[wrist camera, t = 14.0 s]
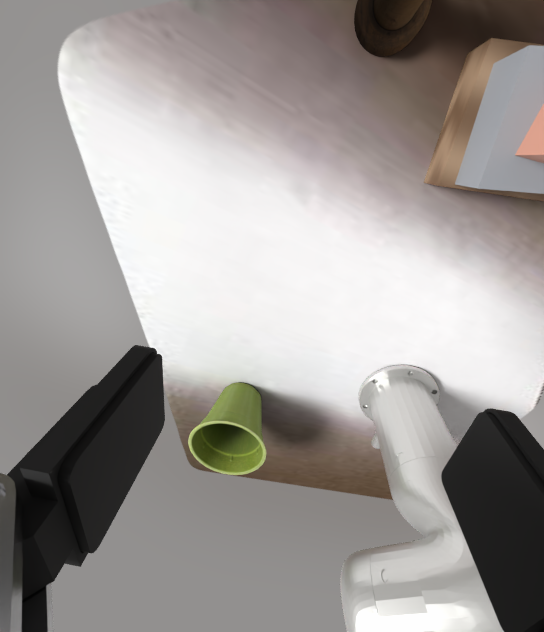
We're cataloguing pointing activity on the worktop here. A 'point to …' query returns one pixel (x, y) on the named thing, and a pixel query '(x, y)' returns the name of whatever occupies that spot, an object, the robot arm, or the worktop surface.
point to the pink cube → (534, 140)
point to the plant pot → (231, 433)
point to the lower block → (469, 116)
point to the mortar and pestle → (389, 24)
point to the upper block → (506, 126)
